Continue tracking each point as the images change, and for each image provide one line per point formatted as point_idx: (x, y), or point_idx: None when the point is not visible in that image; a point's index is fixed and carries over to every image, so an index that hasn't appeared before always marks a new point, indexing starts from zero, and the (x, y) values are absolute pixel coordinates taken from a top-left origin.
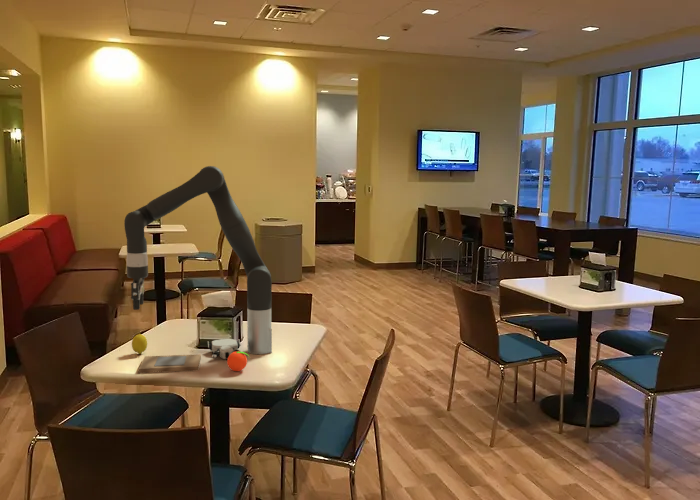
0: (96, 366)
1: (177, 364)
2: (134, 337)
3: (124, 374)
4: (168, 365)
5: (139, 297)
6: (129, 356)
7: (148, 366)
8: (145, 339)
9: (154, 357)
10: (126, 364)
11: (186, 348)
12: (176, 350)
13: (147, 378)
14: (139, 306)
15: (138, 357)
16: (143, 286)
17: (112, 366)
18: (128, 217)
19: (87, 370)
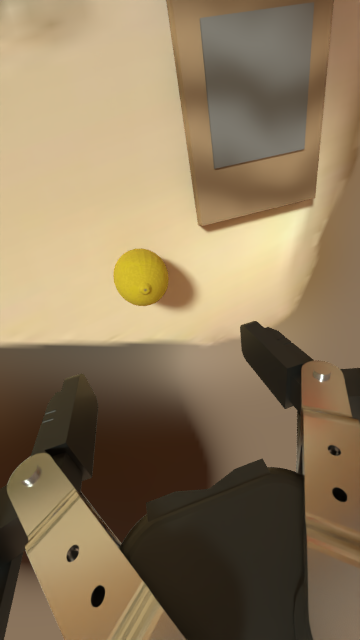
0: None
1: (306, 42)
2: (158, 298)
3: (307, 234)
4: (307, 88)
5: (329, 375)
6: None
7: (300, 172)
8: (144, 257)
9: (214, 184)
10: (232, 264)
11: (15, 81)
12: (63, 132)
13: (352, 152)
14: (263, 329)
15: (171, 257)
16: (122, 578)
17: (245, 291)
18: None
19: None
